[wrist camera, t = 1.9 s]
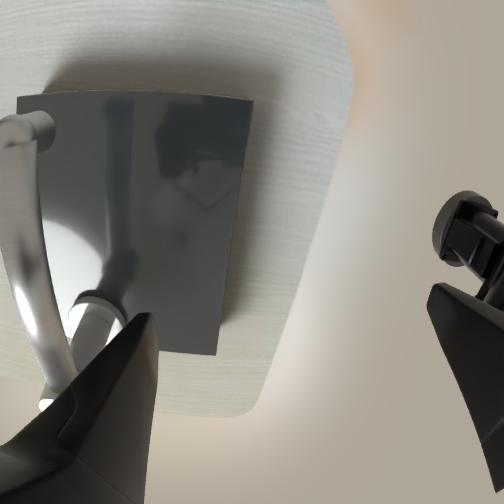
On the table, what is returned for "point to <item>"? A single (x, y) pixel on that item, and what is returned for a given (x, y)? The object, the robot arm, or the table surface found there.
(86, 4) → the table surface
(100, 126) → the tap deck
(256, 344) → the table surface
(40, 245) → the spout
